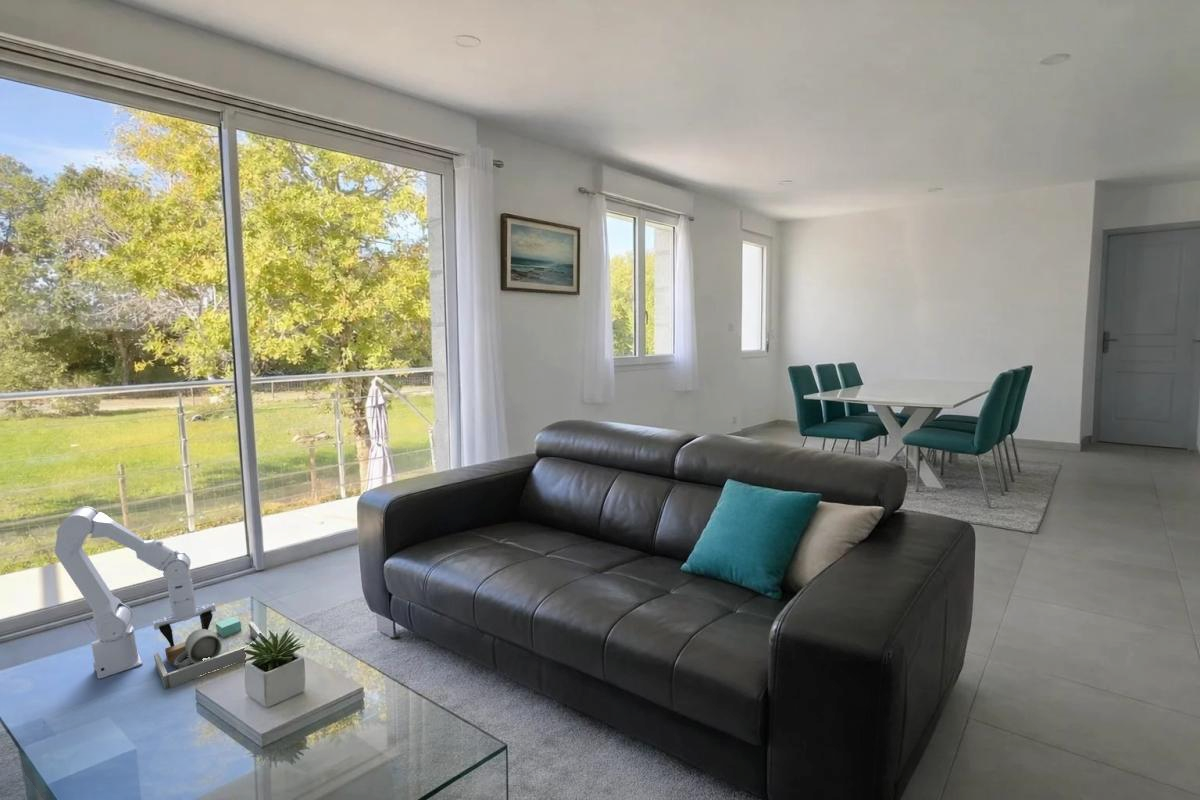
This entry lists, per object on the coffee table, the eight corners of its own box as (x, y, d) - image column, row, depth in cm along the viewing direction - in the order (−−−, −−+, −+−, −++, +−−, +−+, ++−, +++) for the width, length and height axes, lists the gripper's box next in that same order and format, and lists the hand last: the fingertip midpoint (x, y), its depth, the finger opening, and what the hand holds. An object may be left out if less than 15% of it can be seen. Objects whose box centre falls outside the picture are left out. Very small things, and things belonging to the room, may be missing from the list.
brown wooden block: (168, 664, 173) (166, 652, 172) (166, 660, 175) (164, 648, 175) (219, 647, 181) (217, 635, 180) (216, 643, 183) (214, 631, 183)
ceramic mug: (215, 646, 181) (211, 621, 179) (224, 657, 175) (219, 631, 173) (171, 663, 173) (166, 637, 172) (178, 675, 167) (173, 647, 166)
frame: (165, 689, 161) (163, 676, 160) (155, 666, 172) (153, 654, 171) (269, 651, 177) (267, 639, 176) (254, 632, 188) (252, 621, 187)
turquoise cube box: (223, 637, 186) (221, 628, 186) (216, 632, 189) (215, 622, 189) (241, 630, 190) (240, 621, 189) (235, 625, 193) (233, 616, 193)
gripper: (153, 611, 170) (160, 659, 172) (215, 593, 180) (221, 638, 182) (149, 603, 175) (156, 649, 177) (209, 586, 185) (216, 630, 187)
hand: (189, 643), depth 180 cm, fingers open, 7 cm apart
